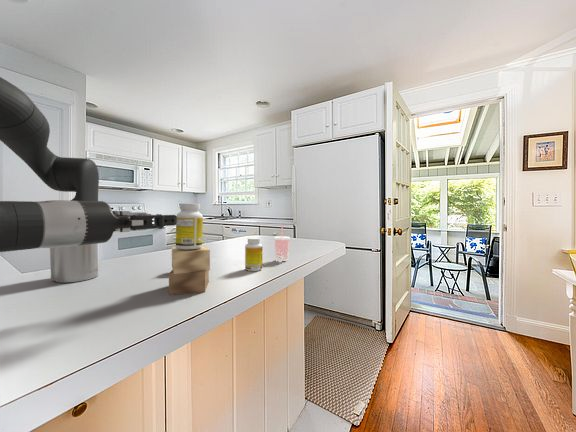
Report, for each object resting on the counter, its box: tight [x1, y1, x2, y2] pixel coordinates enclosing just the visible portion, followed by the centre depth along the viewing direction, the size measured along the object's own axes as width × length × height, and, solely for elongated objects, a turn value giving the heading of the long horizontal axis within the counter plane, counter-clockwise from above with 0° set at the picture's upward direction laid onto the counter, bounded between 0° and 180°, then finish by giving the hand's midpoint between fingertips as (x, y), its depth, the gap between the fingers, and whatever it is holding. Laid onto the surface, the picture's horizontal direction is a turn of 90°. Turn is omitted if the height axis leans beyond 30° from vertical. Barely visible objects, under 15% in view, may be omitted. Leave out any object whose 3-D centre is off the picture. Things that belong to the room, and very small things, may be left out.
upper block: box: [171, 244, 211, 274], centre depth 62 cm, size 8×8×5 cm
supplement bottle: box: [244, 237, 263, 272], centre depth 80 cm, size 6×6×10 cm
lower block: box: [168, 269, 210, 295], centre depth 62 cm, size 8×8×5 cm
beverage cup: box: [273, 223, 291, 262], centre depth 93 cm, size 6×6×14 cm
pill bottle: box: [175, 202, 204, 250], centre depth 62 cm, size 6×6×11 cm
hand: (162, 219), depth 55 cm, fingers open, 8 cm apart
